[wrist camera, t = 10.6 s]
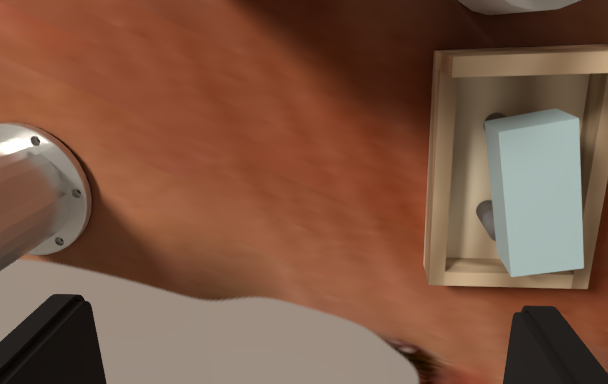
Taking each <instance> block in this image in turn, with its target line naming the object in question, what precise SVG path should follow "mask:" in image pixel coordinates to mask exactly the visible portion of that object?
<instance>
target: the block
mask: <svg viewBox="0 0 608 384" xmlns="http://www.w3.org/2000/svg"><path fill="white" fill-rule="evenodd" d="M484 124H485V134H486V144H487V154H488V165H489V175H490V185H491V196H492V206H493V216H494V227H495V237H496V247H497V254H498V256H499V257H500V259H501V261H502V262H503V264H504V266H505V268H506V269H507V271H508V273H509V274H510V276H511V277H517V276H525V275H533V274H542V273H550V272H558V271H566V270H574V269H582V268H584V255H583V225H582V195H581V165H580V135H579V118H578V117H575V116H573V115H571V114H568V113H566V112H564V111H561V110H559V109H556V108H554V109H549V110H543V111H538V112H532V113H527V114H521V115H516V116H510V117H505V118H499V119H494V120H488V121H484Z"/></svg>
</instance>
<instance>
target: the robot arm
mask: <svg viewBox="0 0 608 384" xmlns="http://www.w3.org/2000/svg"><path fill="white" fill-rule="evenodd" d="M91 204H92V198H91V192H90V186H89V183H88V180H87V178H86V175H85V173H84V171H83V169H82V167H81V165H80V164H79V162H78V161H77V159H76V158H75V157H74V155H73V154H72V153H71V151H70V150H69V149H68V148H67V147H66V146H64V145H63V144H62V143H61V142H60V141H59V140H58V139H56V138H55V137H53V136H52V135H50V134H49V133H47V132H45V131H43V130H41V129H39V128H37V127H34V126H31V125H27V124H24V123H15V122H6V123H0V271H1V270H3V269H4V268H6V267H7V266H9V265H10V264H12V263H13V262H15V261H16V260H18V259H19V258H21V257H22V256H24V255H25V254H29V255H48V254H52V253H55V252H59V251H60V250H62V249H64V248H66V247H68V246H69V245H70V244H72V243H73V242H74V241H75V240H77V239H78V237H79V236H80V235H81V234H82V233H83V232H84V230H85V228H86V226H87V224H88V222H89V218H90V214H91ZM0 384H106V379H105V374H104V368H103V364H102V358H101V353H100V348H99V343H98V337H97V332H96V327H95V322H94V318H93V312H92V307H91V304H90V303H89V302H87V301H85V300H84V298H83V297H82V296H81V295H72V294H54V295H52V296H50V297H49V298H48V299H47V300H46V301H45V302H44V303H43V304H41V305H40V306H39V307H38V308H37V309H36V310H35V311H34V312H33V313H32V314H30V315H29V316H28V317H27V318H26V319H25V320H24V321H23V322H22V323H21V324H19V325H18V326H17V327H16V328H15V329H14V330H13V331H12V332H11V333H9V334H8V335H7V336H6V337H5V338H4V339H3V340H2V341H1V342H0ZM503 384H608V374H607V372H606V371H605V370H604V369H603V367H602V366H601V365H600V363H599V362H598V361H597V360H596V358H595V357H594V356H593V355H592V353H591V352H590V351H589V349H588V348H587V347H586V346H585V344H584V343H583V342H582V340H581V339H580V338H579V337H578V335H577V334H576V333H575V331H574V330H573V329H572V328H571V326H570V325H569V324H568V322H567V321H566V320H565V319H564V317H563V316H562V315H561V313H560V312H559V311H558V310H557V309H556V308H555V307H553V306H524V307H523V309H522V311H521V312H516V313H514V315H513V319H512V326H511V332H510V339H509V346H508V353H507V360H506V366H505V373H504V380H503Z"/></svg>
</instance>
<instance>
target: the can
mask: <svg viewBox="0 0 608 384" xmlns="http://www.w3.org/2000/svg"><path fill="white" fill-rule="evenodd" d="M458 1H459V2H460V3H461V4H463V5H464V6H466V7H467V8H469V9H470V10H471V11H474V12H478V13H482V14H485V15H499V14H511V13H522V12H533V11H544V10H555V9H560V8H562V7H565V6H568V5H570V4H573V3H575V2H578V1H581V0H458Z"/></svg>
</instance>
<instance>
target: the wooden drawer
mask: <svg viewBox="0 0 608 384" xmlns="http://www.w3.org/2000/svg"><path fill="white" fill-rule="evenodd" d="M554 108H556V109H559V110H561V111H564V112H566V113H568V114H571V115H573V116H575V117H578V118H579V135H580V165H581V195H582V225H583V255H584V268H582V269H574V270H566V271H558V272H550V273H542V274H533V275H525V276H517V277H511V276H510V274H509V273H508V271H507V269H506V268H505V266H504V264H503V262H502V261H501V259H500V257H499V256H498V254H497V247H496V237H495V227H494V216H493V206H492V196H491V185H490V175H489V165H488V154H487V144H486V134H485V124H484V121H488V120H494V119H499V118H505V117H510V116H516V115H521V114H527V113H532V112H538V111H543V110H549V109H554ZM607 180H608V44H591V45H564V46H537V47H510V48H483V49H456V50H434V58H433V78H432V99H431V119H430V139H429V160H428V180H427V201H426V221H425V242H424V262H423V265H424V269H425V273H426V277H427V281H428V285H448V286H487V287H526V288H565V289H588V284H589V278H590V273H591V268H592V262H593V257H594V251H595V246H596V240H597V235H598V229H599V224H600V219H601V213H602V208H603V202H604V197H605V191H606V186H607Z"/></svg>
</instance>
